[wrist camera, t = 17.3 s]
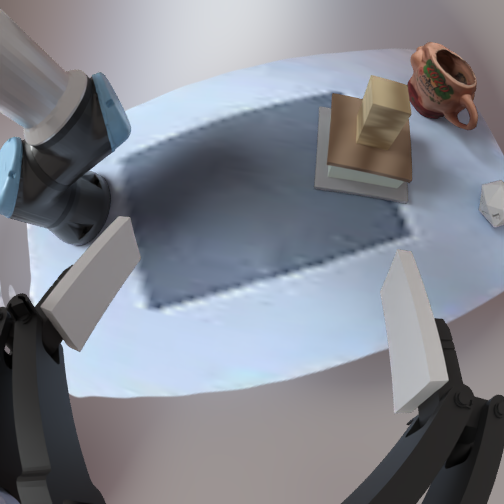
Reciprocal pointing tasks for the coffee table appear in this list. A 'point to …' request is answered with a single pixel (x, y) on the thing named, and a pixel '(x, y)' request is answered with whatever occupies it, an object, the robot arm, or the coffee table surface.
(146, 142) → the coffee table surface
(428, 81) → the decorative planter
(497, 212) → the die
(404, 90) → the wooden t-shaped block
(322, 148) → the square socket base
